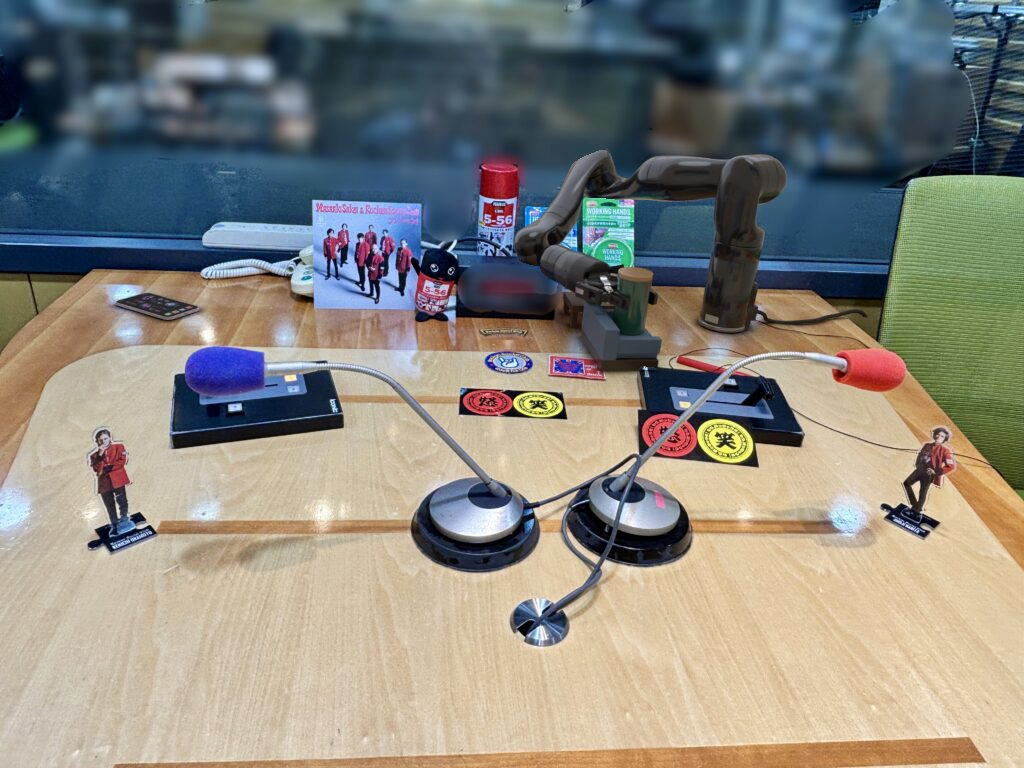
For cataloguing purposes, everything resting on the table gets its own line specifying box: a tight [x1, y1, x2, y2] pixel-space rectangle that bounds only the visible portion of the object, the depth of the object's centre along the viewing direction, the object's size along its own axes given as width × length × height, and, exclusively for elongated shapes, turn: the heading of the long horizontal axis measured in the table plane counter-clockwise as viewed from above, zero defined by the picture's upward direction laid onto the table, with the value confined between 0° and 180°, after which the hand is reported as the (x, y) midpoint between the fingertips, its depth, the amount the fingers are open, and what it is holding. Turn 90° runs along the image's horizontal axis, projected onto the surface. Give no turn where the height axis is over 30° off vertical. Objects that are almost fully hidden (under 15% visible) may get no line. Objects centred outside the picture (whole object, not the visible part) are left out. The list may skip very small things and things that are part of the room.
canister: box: [613, 266, 654, 336], centre depth 125 cm, size 6×6×11 cm
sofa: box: [580, 300, 663, 372], centre depth 127 cm, size 10×15×8 cm, turn 8°
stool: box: [561, 290, 614, 328], centre depth 143 cm, size 8×8×4 cm
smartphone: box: [115, 292, 200, 321], centre depth 136 cm, size 8×1×15 cm
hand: (641, 301), depth 123 cm, fingers closed on canister, 5 cm apart
